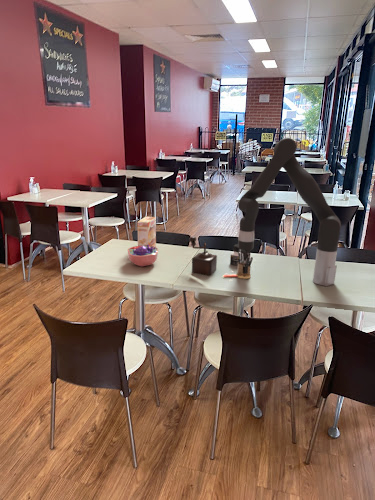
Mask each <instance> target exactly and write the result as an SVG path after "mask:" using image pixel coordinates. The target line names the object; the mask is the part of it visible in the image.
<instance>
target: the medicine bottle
mask: <svg viewBox="0 0 375 500" xmlns="http://www.w3.org/2000/svg"><path fill="white" fill-rule="evenodd" d="M238 250H240V249H239V248H238V243H237V244H234V245H233V252H232V253H231V254H230V260H229V265H232V266H237V267H238V263H240V262H239V255H238Z"/></svg>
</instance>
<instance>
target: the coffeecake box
mask: <svg viewBox="0 0 375 500" xmlns="http://www.w3.org/2000/svg"><path fill="white" fill-rule="evenodd" d="M156 221H157V218H156V216H144V217H143V218H141V219H139V220H138V221H137V246H140V245H150V246H154V247H156V248H157V236H156V234H157V222H156Z"/></svg>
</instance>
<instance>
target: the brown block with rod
mask: <svg viewBox="0 0 375 500" xmlns="http://www.w3.org/2000/svg"><path fill="white" fill-rule="evenodd" d="M251 268H252V267H251V266H250V267H248V273H247V274H244V273H243V263H238V266H237V270H236V271H237V272H236V274H224V275H223V276H224V277H231V278H237V279H239V280H250V279H251V275H252V274H251Z"/></svg>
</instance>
